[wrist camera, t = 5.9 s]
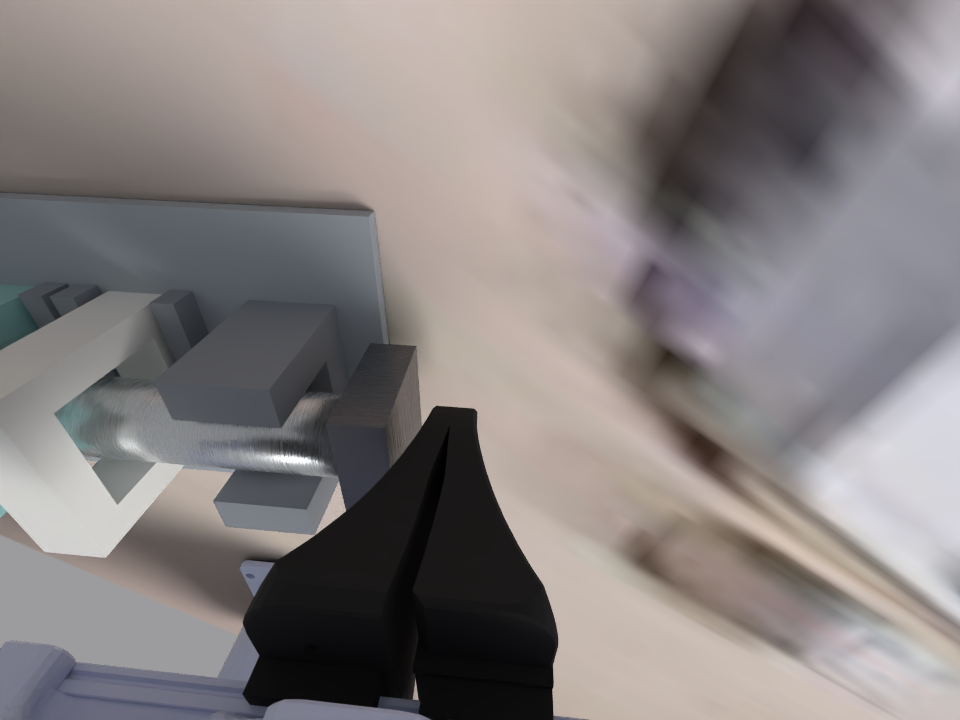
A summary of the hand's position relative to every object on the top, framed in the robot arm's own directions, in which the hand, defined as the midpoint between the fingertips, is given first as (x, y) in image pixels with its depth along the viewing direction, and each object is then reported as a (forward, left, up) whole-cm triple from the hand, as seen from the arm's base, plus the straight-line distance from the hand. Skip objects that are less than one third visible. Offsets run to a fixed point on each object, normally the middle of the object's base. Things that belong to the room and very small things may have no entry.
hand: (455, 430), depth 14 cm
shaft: (0, +9, -1) cm, 9 cm away
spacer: (0, +11, -2) cm, 12 cm away
